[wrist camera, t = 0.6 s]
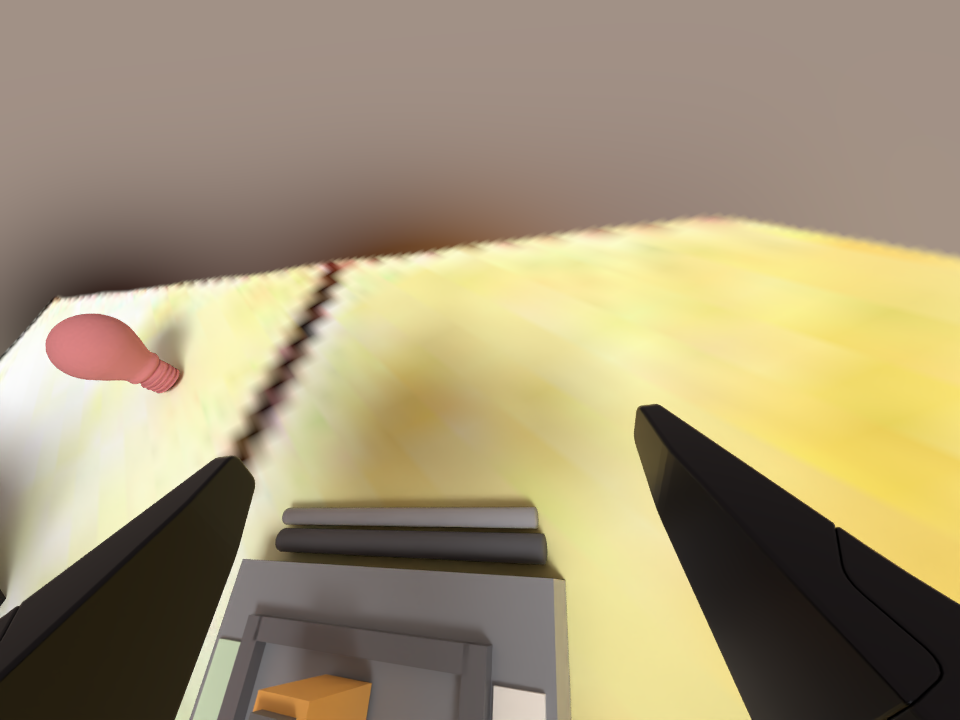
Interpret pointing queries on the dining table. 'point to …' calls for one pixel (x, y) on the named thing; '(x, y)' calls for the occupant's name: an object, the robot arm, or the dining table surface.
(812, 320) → the dining table surface
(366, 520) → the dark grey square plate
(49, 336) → the light bulb
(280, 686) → the lever
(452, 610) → the breaker panel
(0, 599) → the uninterruptible power supply
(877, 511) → the dining table surface
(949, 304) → the dining table surface
